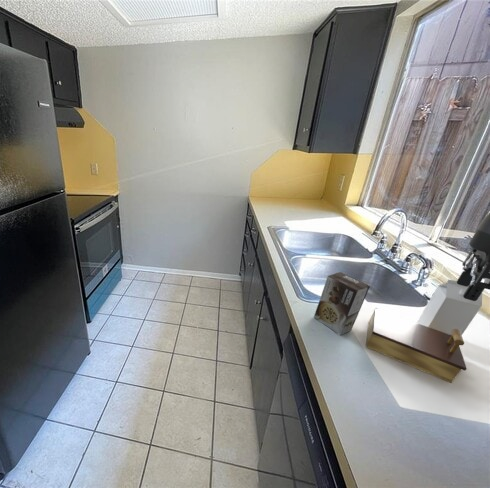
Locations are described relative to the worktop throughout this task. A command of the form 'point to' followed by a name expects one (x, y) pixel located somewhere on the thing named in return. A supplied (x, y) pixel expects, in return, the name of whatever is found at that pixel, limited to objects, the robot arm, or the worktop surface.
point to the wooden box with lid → (410, 356)
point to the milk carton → (449, 308)
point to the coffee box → (341, 302)
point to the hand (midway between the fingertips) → (465, 291)
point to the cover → (420, 338)
